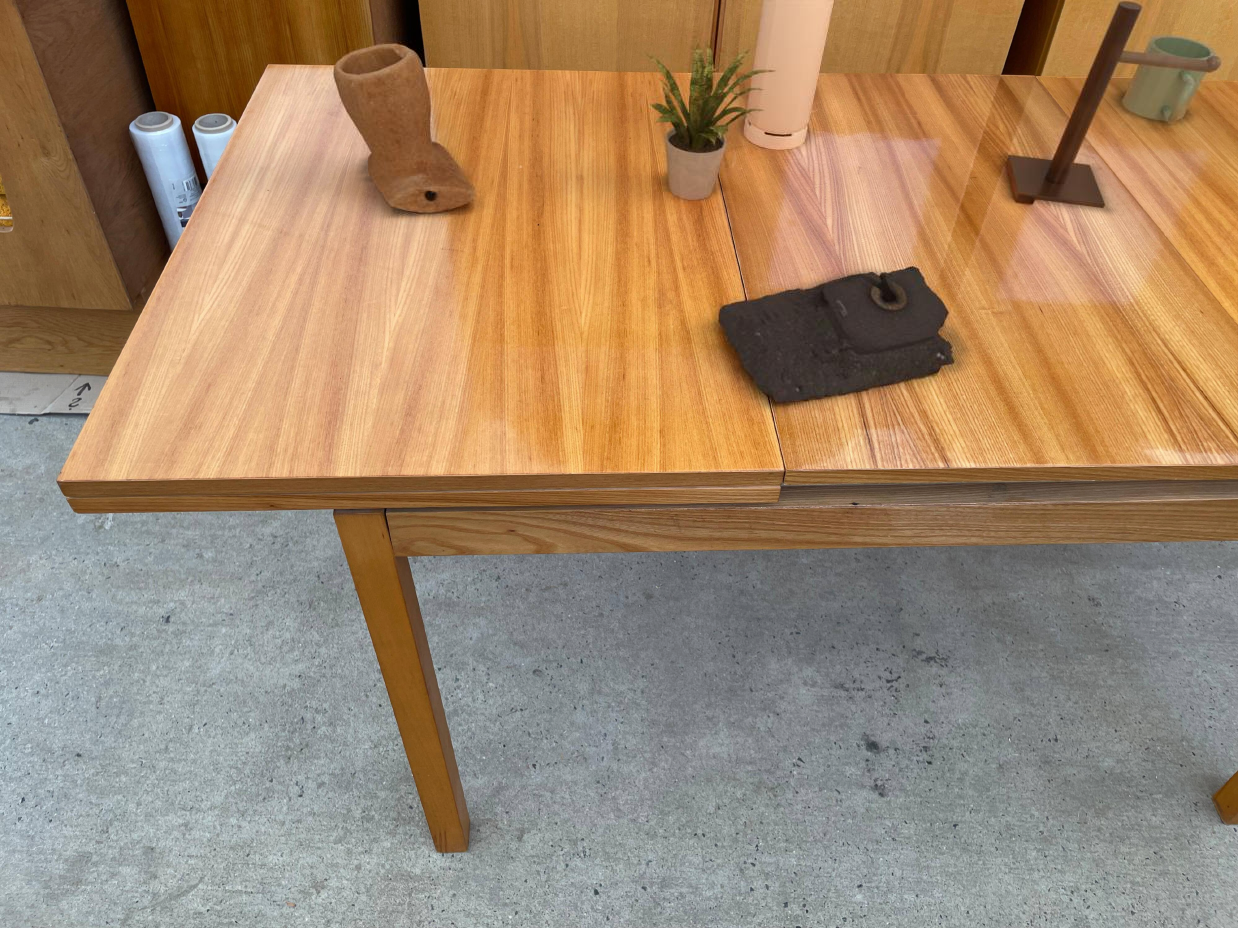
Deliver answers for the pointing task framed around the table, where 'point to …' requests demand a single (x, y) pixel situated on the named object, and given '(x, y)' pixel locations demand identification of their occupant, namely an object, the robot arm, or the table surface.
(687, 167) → the house plant
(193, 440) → the table surface
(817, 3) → the bottle
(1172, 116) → the mug
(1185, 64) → the mug stand
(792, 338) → the dark brown flat slab
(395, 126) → the brown clay vessel
